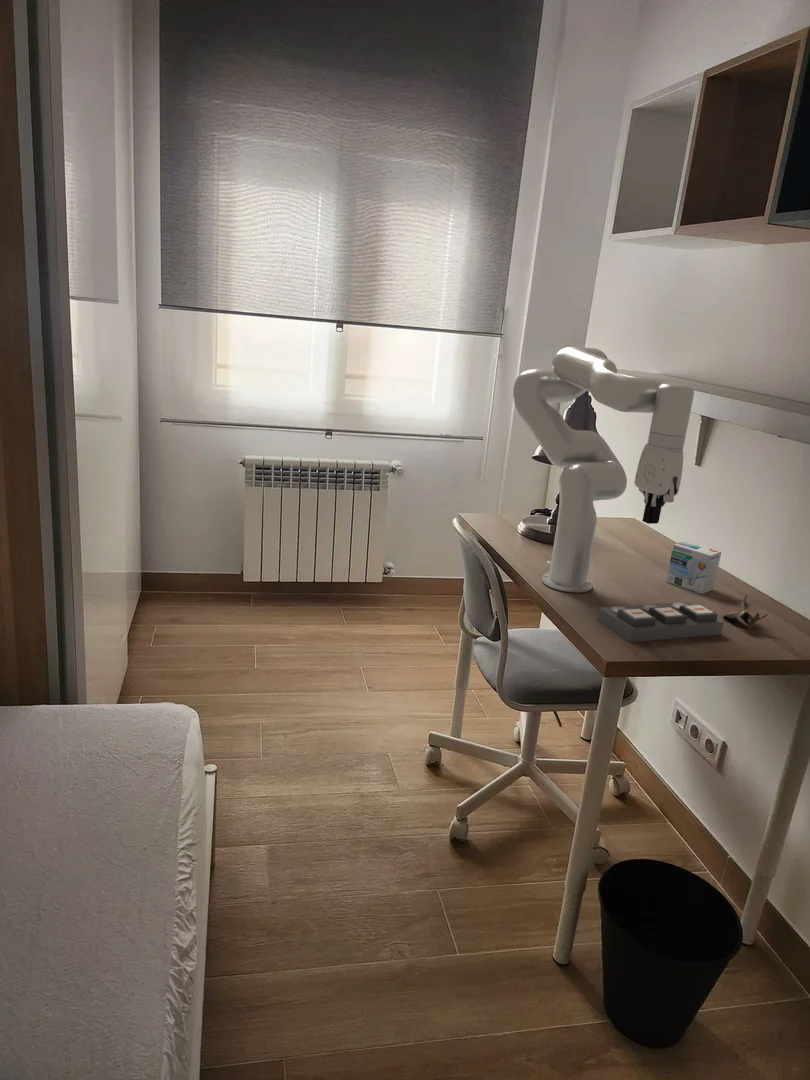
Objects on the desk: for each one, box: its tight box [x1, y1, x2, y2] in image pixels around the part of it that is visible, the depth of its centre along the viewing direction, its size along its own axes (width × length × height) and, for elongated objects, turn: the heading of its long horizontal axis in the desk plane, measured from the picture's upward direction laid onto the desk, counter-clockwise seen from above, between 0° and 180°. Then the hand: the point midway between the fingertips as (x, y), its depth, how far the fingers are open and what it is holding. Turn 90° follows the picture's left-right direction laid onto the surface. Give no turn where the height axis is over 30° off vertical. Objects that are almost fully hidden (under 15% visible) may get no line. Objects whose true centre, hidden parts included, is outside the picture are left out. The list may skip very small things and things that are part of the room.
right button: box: [685, 604, 714, 615], centre depth 177 cm, size 4×4×2 cm
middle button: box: [654, 607, 683, 617], centre depth 173 cm, size 4×4×2 cm
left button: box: [623, 609, 652, 619], centre depth 170 cm, size 4×4×2 cm
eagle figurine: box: [721, 594, 769, 631], centre depth 183 cm, size 8×7×9 cm
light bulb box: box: [665, 540, 722, 595], centre depth 205 cm, size 11×7×11 cm, turn 45°
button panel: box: [597, 601, 724, 643], centre depth 176 cm, size 12×25×5 cm, turn 111°
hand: (650, 522), depth 174 cm, fingers closed
